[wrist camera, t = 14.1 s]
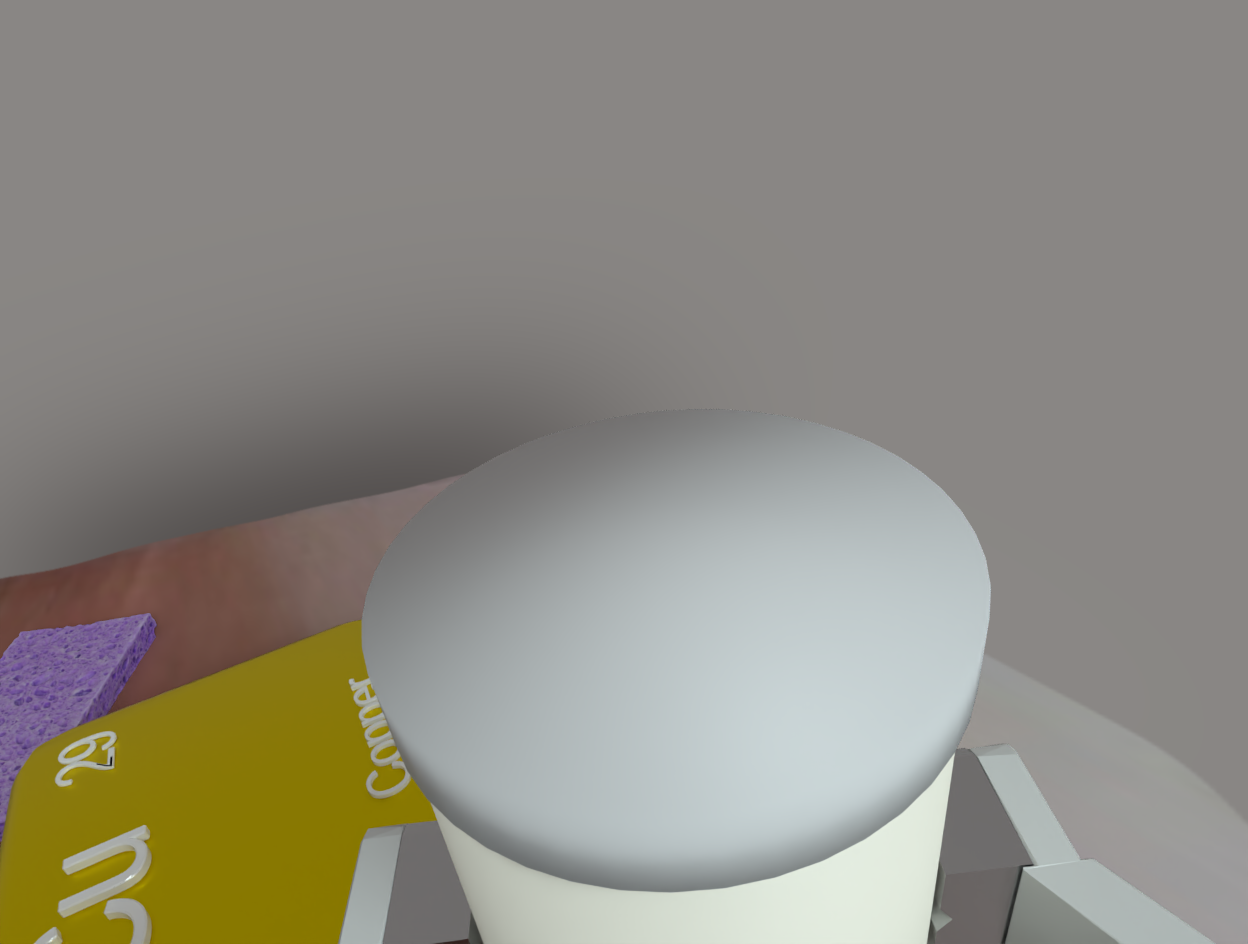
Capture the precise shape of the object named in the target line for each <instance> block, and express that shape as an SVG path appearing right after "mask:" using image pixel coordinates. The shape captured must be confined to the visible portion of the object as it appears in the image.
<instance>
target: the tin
mask: <svg viewBox="0 0 1248 944" xmlns="http://www.w3.org/2000/svg"><path fill="white" fill-rule="evenodd" d="M990 589H991V585H990V580H989V574H988V568H987V563H986V558H985V556H984V553H983V551H982V548H981V546H980V543H979V541H978V538H977V536H976V533H975V532H974V530H973V529H972V527H971V526H970V524H969V522H968V521H967V519H966V518H965V516H964V515H963V513H962V511H961V510H960V509H959V508H958V507H957V505H956V504H955V503H954V502H953V501H952V500H951V499H950V498H949V496H948V495H947V494H946V493H945V492H944V491H943V490H942V489H941V488H940V487H938V485H936V484H935V483H934V482H933V481H932V480H930V479H929V478H928V477H927V476H926V475H925V474H923V473H922V472H921V471H919V470H918V469H916V468H915V467H913V466H912V465H910V464H909V463H907V462H906V461H904V460H903V459H901V458H900V457H898V456H897V455H895V454H893V453H891V452H889V451H887V450H885V449H883V448H881V447H879V446H877V445H875V444H873V443H871V442H869V441H866V440H864V439H861V438H859V437H856V436H854V435H851V434H849V433H846V432H844V431H840V430H837V429H834V428H830V427H827V426H824V425H821V424H817V423H813V422H809V421H805V420H800V419H796V418H791V417H787V416H781V415H773V414H767V413H760V412H750V411H739V410H723V409H687V410H668V411H667V410H666V411H657V412H649V413H639V414H632V415H626V416H621V417H614V418H609V419H604V420H600V421H596V422H591V423H587V424H583V425H579V426H575V427H572V428H569V429H565V430H562V431H559V432H556V433H552V434H549V435H546V436H544V437H541V438H539V439H536V440H533V441H531V442H528V443H525V444H523V445H521V446H518V447H516V448H514V449H512V450H510V451H508V452H506V453H503V454H501V455H499V456H497V457H495V458H493V459H491V460H490V461H488V462H486V463H484V464H483V465H481V466H479V467H477V468H475V469H474V470H472V471H470V472H469V473H467V474H466V475H464V476H463V477H461V478H460V479H458V480H457V481H455V482H454V483H452V484H451V485H449V486H448V487H447V488H445V489H444V490H443V491H442V492H440V493H439V494H438V495H437V496H436V497H434V498H433V499H432V500H431V501H430V502H428V503H427V504H426V505H425V506H424V507H423V508H422V509H421V510H420V511H419V512H418V513H417V514H416V515H415V516H414V517H413V518H412V519H411V520H410V521H409V522H408V523H407V524H406V525H405V527H404V528H403V529H402V530H401V532H400V533H399V534H398V536H397V537H396V538H395V539H394V541H393V542H392V543H391V545H390V546H389V548H388V549H387V551H386V553H385V555H384V556H383V558H382V560H381V561H380V563H379V565H378V567H377V568H376V571H375V573H374V576H373V579H372V581H371V584H370V586H369V589H368V592H367V594H366V600H365V605H364V610H363V616H362V650H363V654H364V659H365V663H366V668H367V672H368V676H369V678H370V681H371V684H372V686H373V689H374V691H375V694H376V696H377V699H378V702H379V704H380V707H381V709H382V712H383V714H384V717H385V720H386V722H387V725H388V727H389V730H390V732H391V735H392V738H393V740H394V743H395V745H396V747H397V749H398V751H399V754H400V756H401V758H402V760H403V762H404V765H405V767H406V769H407V771H408V773H409V774H410V775H411V777H412V778H413V780H414V781H415V782H416V784H417V785H418V787H419V788H420V790H421V791H422V792H423V794H424V795H425V797H426V798H427V799H428V800H429V801H430V802H431V805H432V808H433V810H434V813H435V816H436V818H437V821H438V824H439V826H440V829H441V832H442V834H443V837H444V840H445V842H446V845H447V848H448V850H449V853H450V856H451V858H452V861H453V864H454V866H455V869H456V872H457V874H458V877H459V880H460V882H461V885H462V888H463V890H464V893H465V896H466V898H467V901H468V903H469V906H470V909H471V911H472V914H473V917H474V919H475V922H476V925H477V927H478V930H479V933H480V935H481V938H482V941H483V943H484V944H927V939H928V932H929V925H930V919H931V912H932V905H933V898H934V891H935V885H936V878H937V871H938V864H939V857H940V851H941V844H942V837H943V830H944V823H945V817H946V810H947V803H948V796H949V789H950V783H951V776H952V769H953V762H954V756H955V751H956V749H957V747H958V745H959V743H960V741H961V739H962V736H963V734H964V732H965V730H966V728H967V726H968V724H969V722H970V718H971V714H972V710H973V707H974V703H975V699H976V695H977V691H978V685H979V679H980V673H981V666H982V660H983V654H984V648H985V641H986V635H987V629H988V623H989V616H990V591H991V590H990Z"/></svg>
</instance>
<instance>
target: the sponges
mask: <svg viewBox="0 0 1248 944" xmlns="http://www.w3.org/2000/svg"><path fill="white" fill-rule="evenodd" d="M156 626H157V624H156V622H155V620H154V619H153V618H152V616H151V614H150V613H147V614H141V615H135V616H131V617H124V618H118V619H113V620H107V621H99V622H96V623H93V624H91V625H89V624H87V625H77V626H75V627H70V626H66V627H64V628H56V629H50V628H49V629H41V630H33V631H27V632H21V633H20V634H19V637H18V638H16V639H15V640H14V641H13V643H11V645H10V646H9V647H8V649H7V650H6V651H5V652H4V654H3V657H2V658H1V659H0V842H1V841H2V836H3V830H4V825H5V819H6V814H7V809H8V803H9V798H10V792H11V787H12V785H13V782H14V780H15V777H16V775H17V774H18V772H19V771H20V769H21V768H22V766H23V765H24V763H25V762H26V760H27V759H28V758H29V756H30V755H31V753H32V752H33V751H34V750H35V749H36V748H37V747H38V746H40V745H42V744H43V743H45V742H47V741H49V740H50V739H52V738H54V737H56V736H58V735H60V734H62V733H64V732H66V731H68V730H70V729H72V728H74V727H76V726H79V725H82V724H84V723H87V722H89V721H92V720H95V719H97V718H100V717H102V716H105V715H107V713H108V712H109V710H110V709H111V707H112V705H113V703H114V702H115V700H116V699H117V696H118V694H119V693H120V692H121V691H122V689H123V688H124V686H125V683H126V682H127V681H128V679H129V678H130V676H131V675H132V673H133V671H134V670H135V669H136V667H137V665H138V663H139V661H140V660H141V659H142V657H143V656H144V654H145V653H146V652H147V650H148V649H149V647H150V645H151V644H152V642H153V641H154V639H155V637H156V636H155V633H154V628H155V627H156Z"/></svg>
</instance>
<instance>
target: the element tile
mask: <svg viewBox="0 0 1248 944" xmlns="http://www.w3.org/2000/svg"><path fill="white" fill-rule="evenodd" d="M436 820H437V818H436V816H435V813H434V810H433V808H432V805H431V802H430V801H429V800H428V799H427V798H426V797H425V795H424V794H423V792H422V791H421V790H420V788H419V787H418V785H417V784H416V782H415V781H414V780H413V778H412V777H411V775H410V774H409V773H408V771H407V769H406V767H405V765H404V762H403V760H402V758H401V756H400V754H399V751H398V749H397V747H396V745H395V743H394V740H393V738H392V735H391V732H390V730H389V727H388V725H387V722H386V720H385V717H384V714H383V712H382V709H381V707H380V704H379V702H378V699H377V696H376V694H375V691H374V689H373V686H372V684H371V681H370V678H369V676H368V672H367V668H366V663H365V659H364V654H363V650H362V620H358V621H353V622H349V623H345V624H342V625H338V626H336V627H333V628H331V629H328V630H325V631H323V632H320V633H318V634H315V635H312V636H310V637H307V638H305V639H302V640H299V641H297V642H294V643H292V644H289V645H287V646H284V647H281V648H279V649H276V650H274V651H271V652H268V653H266V654H263V655H261V656H258V657H255V658H253V659H250V660H248V661H245V662H242V663H240V664H237V665H235V666H232V667H229V668H227V669H224V670H222V671H219V672H216V673H214V674H211V675H209V676H206V677H204V678H201V679H198V680H196V681H193V682H191V683H188V684H185V685H183V686H180V687H178V688H175V689H172V690H170V691H167V692H165V693H162V694H159V695H157V696H154V697H152V698H149V699H146V700H144V701H141V702H139V703H136V704H133V705H131V706H128V707H126V708H123V709H121V710H118V711H115V712H113V713H110V714H108V715H105V716H102V717H100V718H97V719H95V720H92V721H89V722H87V723H84V724H82V725H79V726H76V727H74V728H72V729H70V730H68V731H66V732H64V733H62V734H60V735H58V736H56V737H54V738H52V739H50V740H49V741H47V742H45V743H43V744H42V745H40V746H38V747H37V748H36V749H35V750H34V751H33V752H32V753H31V755H30V756H29V758H28V759H27V760H26V762H25V763H24V765H23V766H22V768H21V769H20V771H19V772H18V774H17V775H16V777H15V780H14V782H13V785H12V787H11V792H10V798H9V803H8V809H7V814H6V819H5V825H4V830H3V836H2V841H1V847H0V944H338V941H339V937H340V933H341V928H342V924H343V919H344V915H345V911H346V906H347V902H348V897H349V893H350V888H351V884H352V880H353V875H354V871H355V866H356V862H357V857H358V853H359V849H360V844H361V841H362V839H363V838H364V836H365V834H366V832H367V830H368V829H369V828H377V827H384V826H392V825H399V824H407V823H409V824H410V823H418V822H427V821H436Z"/></svg>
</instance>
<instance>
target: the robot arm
mask: <svg viewBox="0 0 1248 944" xmlns="http://www.w3.org/2000/svg"><path fill="white" fill-rule="evenodd" d="M338 944H484V943H483V941H482V938H481V935H480V933H479V930H478V927H477V925H476V922H475V919H474V917H473V914H472V911H471V909H470V906H469V903H468V901H467V898H466V896H465V893H464V890H463V888H462V885H461V882H460V880H459V877H458V874H457V872H456V869H455V866H454V864H453V861H452V858H451V856H450V853H449V850H448V848H447V845H446V842H445V840H444V837H443V834H442V832H441V829H440V826H439V824H438V821H437V820H436V821H427V822H418V823H410V824H409V823H407V824H399V825H392V826H384V827H377V828H369V829H368V830H367V832H366V834H365V836H364V838H363V839H362V841H361V844H360V849H359V853H358V857H357V862H356V866H355V871H354V875H353V880H352V884H351V888H350V893H349V897H348V902H347V906H346V911H345V915H344V919H343V924H342V928H341V933H340V937H339V941H338ZM927 944H1215V943H1214V942H1213V941H1211V940H1210V939H1208V938H1207V937H1205V936H1204V935H1203V934H1201V933H1200V932H1198V931H1197V930H1195V929H1194V928H1192V927H1191V926H1190V925H1188V924H1187V923H1185V922H1184V921H1182V920H1181V919H1180V918H1178V917H1177V916H1175V915H1174V914H1172V913H1171V912H1169V911H1168V910H1167V909H1165V908H1164V907H1162V906H1161V905H1159V904H1158V903H1157V902H1155V901H1154V900H1152V899H1151V898H1149V897H1148V896H1146V895H1145V894H1144V893H1142V892H1141V891H1139V890H1138V889H1136V888H1135V887H1134V886H1132V885H1131V884H1129V883H1128V882H1126V881H1125V880H1123V879H1122V878H1121V877H1119V876H1118V875H1116V874H1115V873H1113V872H1112V871H1111V870H1109V869H1108V868H1106V867H1105V866H1103V865H1102V864H1100V863H1099V862H1098V861H1096V860H1095V859H1093V858H1091V859H1080V857H1079V856H1078V854H1077V852H1076V851H1075V849H1074V847H1073V846H1072V844H1071V842H1070V840H1069V839H1068V837H1067V835H1066V834H1065V832H1064V830H1063V829H1062V827H1061V825H1060V824H1059V822H1058V820H1057V819H1056V817H1055V815H1054V814H1053V812H1052V810H1051V808H1050V807H1049V805H1048V803H1047V802H1046V800H1045V798H1044V797H1043V795H1042V793H1041V792H1040V790H1039V788H1038V787H1037V785H1036V783H1035V782H1034V780H1033V778H1032V776H1031V775H1030V773H1029V771H1028V770H1027V768H1026V766H1025V765H1024V763H1023V761H1022V760H1021V758H1020V756H1019V755H1018V753H1017V751H1016V750H1015V749H1014V748H1013V747H1011V746H1010V745H1009V744H997V745H990V746H984V747H978V748H971V749H965V748H961V749H956V751H955V756H954V762H953V769H952V776H951V783H950V789H949V796H948V803H947V810H946V817H945V823H944V830H943V837H942V844H941V851H940V857H939V864H938V871H937V878H936V885H935V891H934V898H933V905H932V912H931V919H930V925H929V932H928V939H927Z"/></svg>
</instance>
